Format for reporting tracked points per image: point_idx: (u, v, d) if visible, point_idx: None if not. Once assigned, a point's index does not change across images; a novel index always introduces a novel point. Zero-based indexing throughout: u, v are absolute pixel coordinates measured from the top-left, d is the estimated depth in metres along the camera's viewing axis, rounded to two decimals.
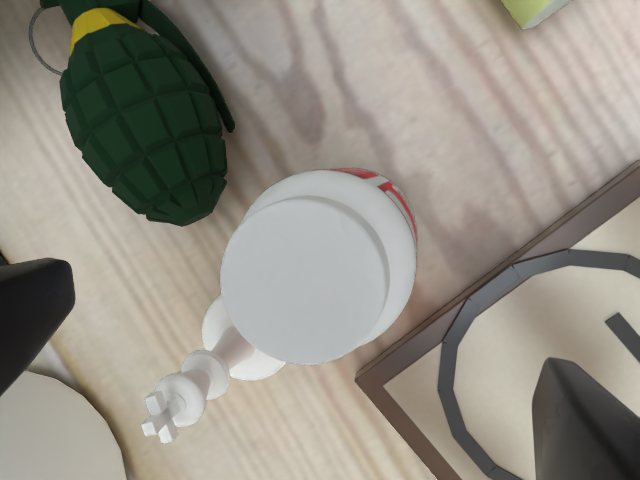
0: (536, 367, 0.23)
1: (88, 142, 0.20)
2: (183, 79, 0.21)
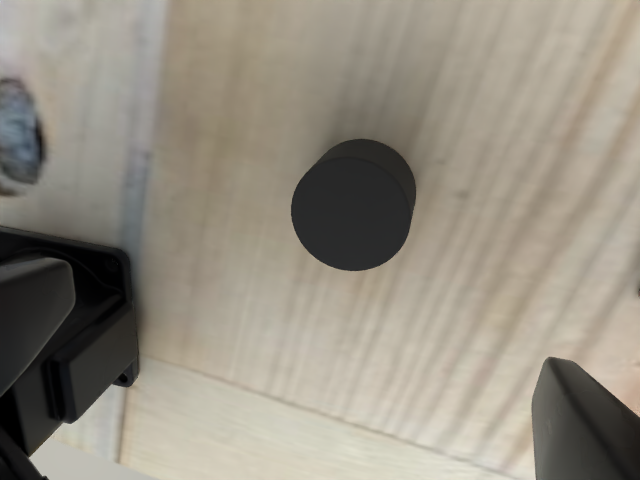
0: None
1: None
2: None
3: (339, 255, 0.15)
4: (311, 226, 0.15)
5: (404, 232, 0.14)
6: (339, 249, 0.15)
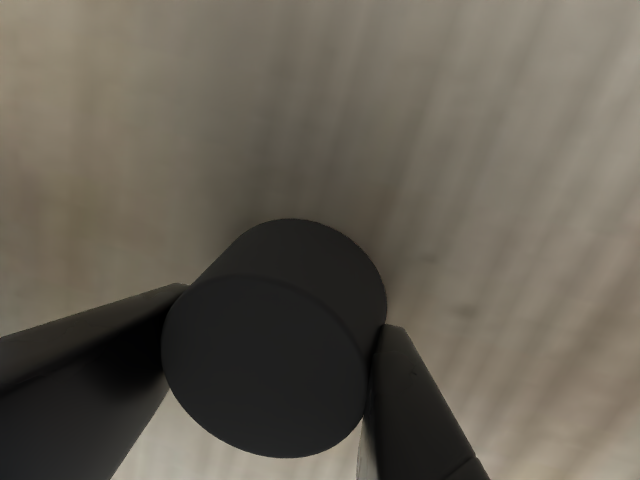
0: None
1: None
2: None
3: (248, 433, 0.08)
4: (196, 384, 0.08)
5: (359, 407, 0.08)
6: (247, 424, 0.08)
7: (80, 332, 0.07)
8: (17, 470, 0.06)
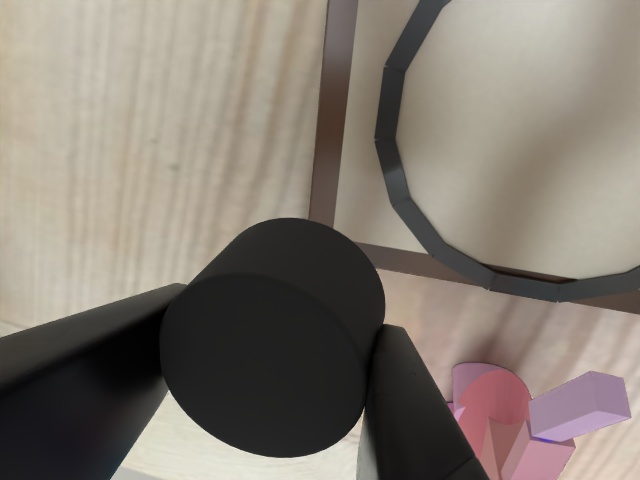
0: (553, 69, 0.15)
1: None
2: None
3: (246, 432, 0.08)
4: (195, 382, 0.08)
5: (357, 406, 0.08)
6: (245, 423, 0.08)
7: (80, 332, 0.07)
8: (17, 470, 0.06)
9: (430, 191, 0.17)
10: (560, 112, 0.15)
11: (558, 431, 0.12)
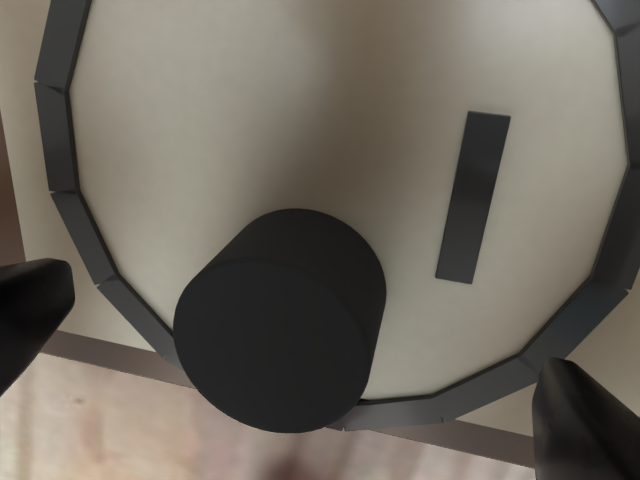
0: (275, 86, 0.09)
1: None
2: None
3: (255, 409, 0.09)
4: (208, 362, 0.09)
5: (360, 383, 0.08)
6: (254, 400, 0.09)
7: None
8: None
9: (147, 266, 0.12)
10: (297, 155, 0.10)
11: None
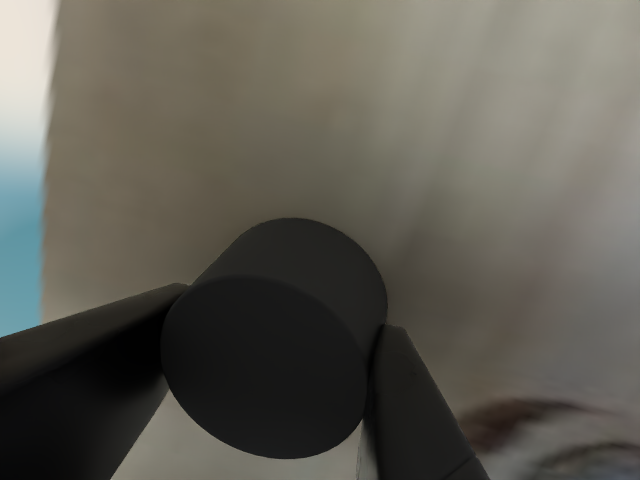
0: None
1: None
2: None
3: None
4: None
5: None
6: None
7: (80, 332, 0.07)
8: (17, 470, 0.06)
9: None
10: None
11: None
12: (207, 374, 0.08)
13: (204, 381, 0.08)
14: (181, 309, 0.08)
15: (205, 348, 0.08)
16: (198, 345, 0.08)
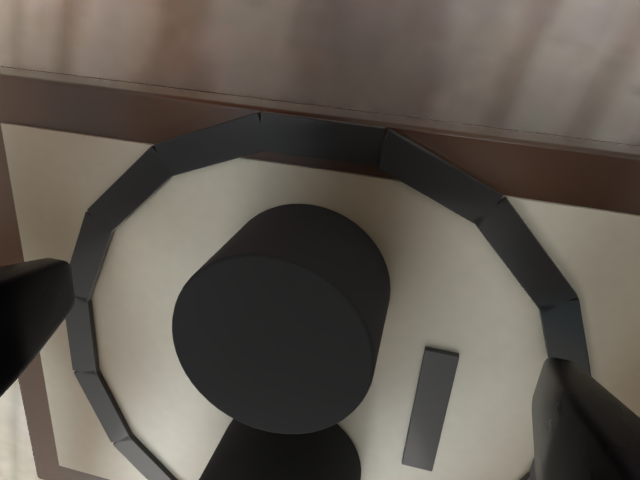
0: None
1: None
2: None
3: None
4: None
5: None
6: None
7: None
8: None
9: (156, 429, 0.13)
10: None
11: None
12: (218, 352, 0.09)
13: (215, 358, 0.09)
14: (193, 288, 0.08)
15: (216, 326, 0.08)
16: (210, 323, 0.08)
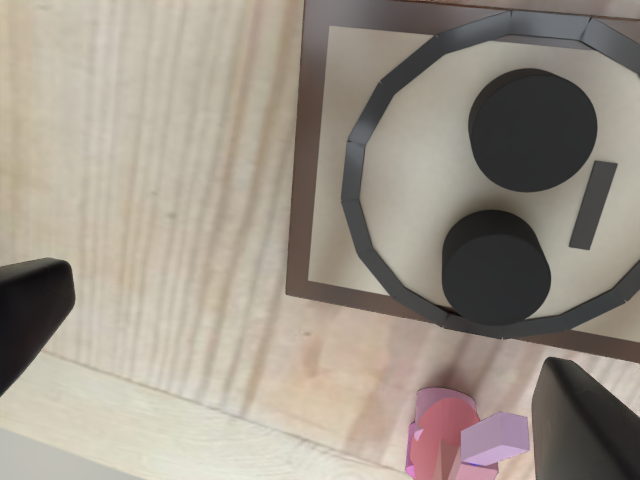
0: None
1: None
2: None
3: (482, 313, 0.17)
4: (460, 288, 0.17)
5: (544, 296, 0.17)
6: (483, 308, 0.17)
7: None
8: None
9: (390, 243, 0.20)
10: None
11: (480, 458, 0.15)
12: (500, 139, 0.15)
13: (497, 144, 0.15)
14: (494, 99, 0.15)
15: (503, 122, 0.15)
16: (499, 121, 0.15)
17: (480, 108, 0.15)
